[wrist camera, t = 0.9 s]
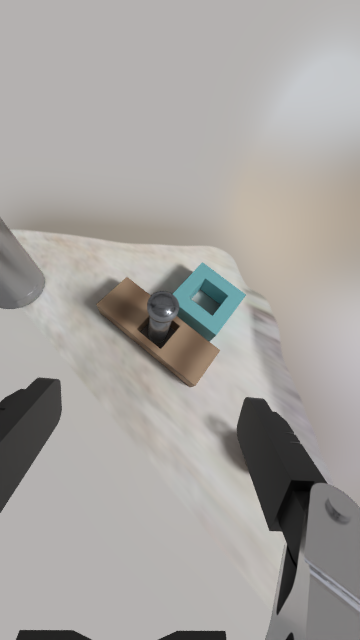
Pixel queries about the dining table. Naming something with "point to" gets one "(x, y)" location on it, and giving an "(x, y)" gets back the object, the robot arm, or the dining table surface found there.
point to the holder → (216, 290)
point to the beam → (177, 354)
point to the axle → (161, 314)
